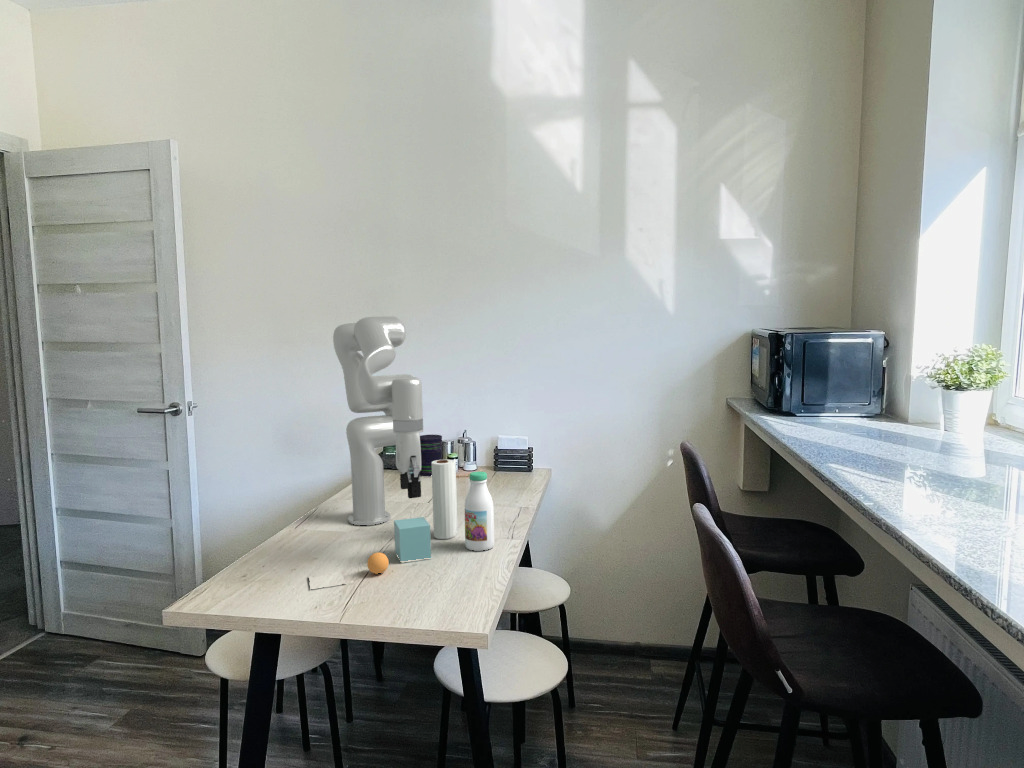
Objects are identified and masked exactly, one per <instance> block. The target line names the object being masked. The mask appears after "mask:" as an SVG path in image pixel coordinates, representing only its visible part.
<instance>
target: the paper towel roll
mask: <svg viewBox="0 0 1024 768" xmlns="http://www.w3.org/2000/svg"><path fill="white" fill-rule="evenodd" d="M456 467H457V464H456V458H454V459H453V460H452V459H442V460H436V461H433V462H432V477H431V484H432V485H431V488H432V489H431V491H432V517H433V518H432V521H433V523H432V524H433V537H434V538H435V539H439V540H448V539H452V538H455V536H456V535H457V532H458V512H457V511H458V507H457V506H458V505H457V503H458V501H457V500H458V499H457V473H456V471H457V470H456Z"/></svg>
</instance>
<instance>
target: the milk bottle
mask: <svg viewBox="0 0 1024 768" xmlns="http://www.w3.org/2000/svg"><path fill="white" fill-rule="evenodd" d="M469 482H470V486H469V490H468V492H467V495H466V496H465V497H466V498H465V502H464V539H465V542H464V543H465V545H464V546H465V547H466V549H467V550H469V551H472V550H474V551H473V552H482V551H483V550H485V551H489V550H491V549H493V548H494V547H493V546H495V518H494V517H495V515H494V511H495V509H494V501H493V498H492V495H491V493H490V492H489V489H488V486H487V482H488V474H487V472H485V471H473V472H472V471H471V472H470V473H469ZM488 549H489V550H488Z"/></svg>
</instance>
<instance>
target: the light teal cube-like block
mask: <svg viewBox="0 0 1024 768" xmlns="http://www.w3.org/2000/svg"><path fill="white" fill-rule="evenodd" d="M393 525H394V526H393V529H394V531H393V532H394V553H395V552H396V554H397V555H398V557H399V559H400V561H408V560H416V559H424V558H431V559H432V549H431V548H432V545H431V543H432V541H431V539H432V538H431V525H430V524H429V522H428V521H427V520H426V519H425V516H421V517H413V518H412V517H411V518H404V519H403V518H402V519H396V520H393ZM396 554H395V555H396ZM399 559H398V560H399ZM400 561H399V562H400Z"/></svg>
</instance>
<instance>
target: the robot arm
mask: <svg viewBox="0 0 1024 768" xmlns="http://www.w3.org/2000/svg"><path fill="white" fill-rule="evenodd" d="M406 333H407V331H406V328H405V325H404V323H403V321H402V320H401V319H400V318H399V317H398V316H397V317H396V316H366V317H362V318H361V319H358V320H357V322H351V323H344V324H340V325H338V326H337V327H335V329H334V330H333V334H332V335H333V336H332V338H333V340H332V343H333V348H334V352H335V355H336V357H337V359H338V362H339V363H340V367H341V369H342V372H343V379H344V385H345V387H344V388H345V394H346V400H347V406H348V408H349V410H350V411H351V413H356V414H368V413H377V412H378V413H380V412H383V413H384V414H383V415H371V416H361V417H357V418H354V419H352V420H350V421H349V422H348V423H347V425H346V428H345V429H346V432H345V433H346V439H347V443H348V449H349V456H350V473H351V491H352V492H351V493H352V495H351V496H352V497H351V498H352V513H351V514H350V515H349V516H348V517H347V521H348V522H347V523H349V524H351V525H353V524H354V525H355V526H360V525H367V526H375V524H376V525H380V523H381V524H383V522H384V523H386V522H388V521H389V520H390V519H391V513H390V512H388V511H386V507H385V505H386V504H385V503H386V502H385V498H386V497H385V478H384V477H385V476H384V474H385V473H384V461H383V459H382V457H381V456H380V455H379V454H378V453H377V452H376V451H375V449H378V448H382V447H383V448H384V447H392V446H395V466H396V468H397V470H398V471H399V472H400V474H399V479H400V489H401V490H407V497H408V499H417V498H421V497H422V481H421V476H420V473H419V472H420V471H421V446H420V436H421V434H420V433H424V419H423V417H424V416H423V414H424V413H423V411H424V410H423V386H422V384H423V383H422V380H421V379H420V378H419V377H417V376H413V375H411V374H408V373H407V374H405V373H403V374H387V375H385V374H384V375H374V374H376V373H377V372H380V371H383V370H384V369H387V367H389V366H390V365H391V364H392V363H393V362H394V361H395V359H396V355H397V354H396V353H397V351H396V348H398V347H400V346H401V345H402V344H403V343H404V342H405V340H406ZM360 352H361V353H362V354H361V353H360Z"/></svg>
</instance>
